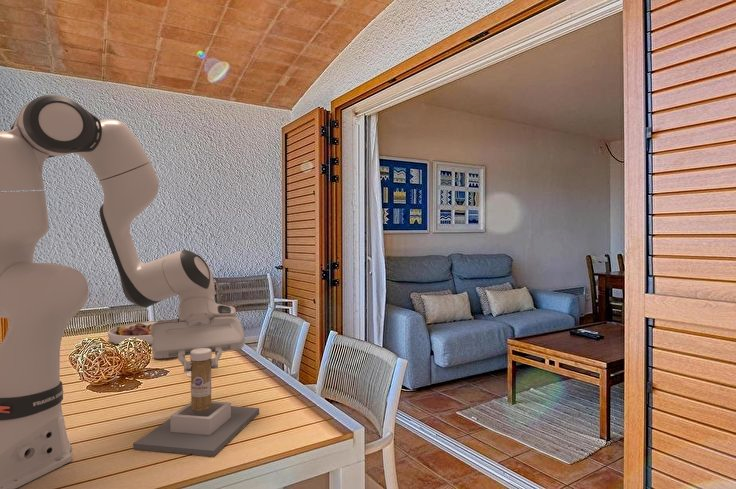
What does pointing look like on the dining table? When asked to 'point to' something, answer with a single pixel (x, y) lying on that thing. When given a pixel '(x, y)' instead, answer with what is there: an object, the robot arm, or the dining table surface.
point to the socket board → (198, 430)
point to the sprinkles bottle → (201, 379)
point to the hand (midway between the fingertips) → (201, 368)
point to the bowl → (132, 332)
